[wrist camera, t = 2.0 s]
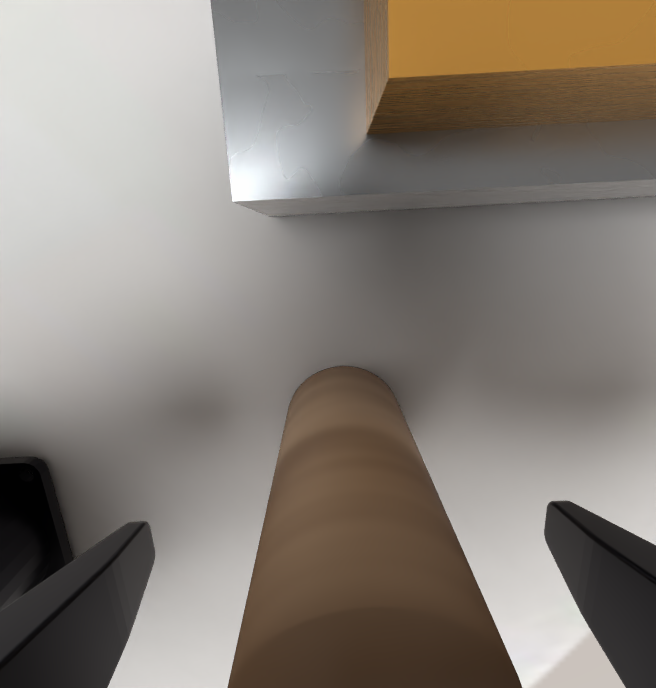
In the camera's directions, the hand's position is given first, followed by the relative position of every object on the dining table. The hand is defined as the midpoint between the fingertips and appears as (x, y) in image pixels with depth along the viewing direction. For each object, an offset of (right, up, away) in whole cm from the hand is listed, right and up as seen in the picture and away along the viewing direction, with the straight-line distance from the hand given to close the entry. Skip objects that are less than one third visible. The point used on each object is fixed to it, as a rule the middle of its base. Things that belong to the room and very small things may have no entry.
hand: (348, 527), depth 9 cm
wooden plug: (0, +1, +5) cm, 5 cm away
